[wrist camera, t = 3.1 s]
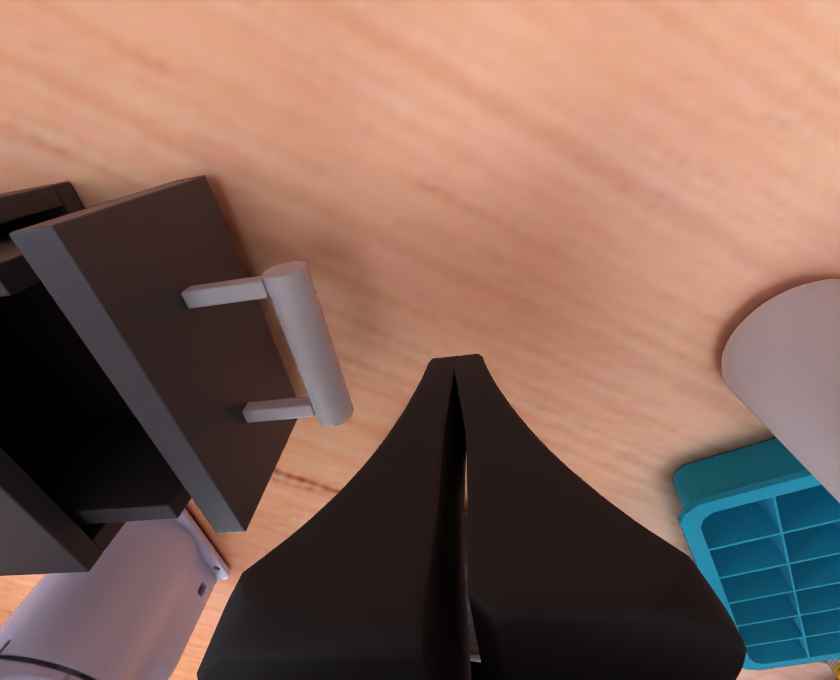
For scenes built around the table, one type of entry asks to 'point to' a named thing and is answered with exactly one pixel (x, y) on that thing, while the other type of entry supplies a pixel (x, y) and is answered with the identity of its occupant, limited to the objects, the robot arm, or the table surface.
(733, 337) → the beverage can
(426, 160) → the table surface
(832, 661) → the supplement bottle
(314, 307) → the drawer
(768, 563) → the ice cube tray
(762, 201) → the table surface
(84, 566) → the cabinet
